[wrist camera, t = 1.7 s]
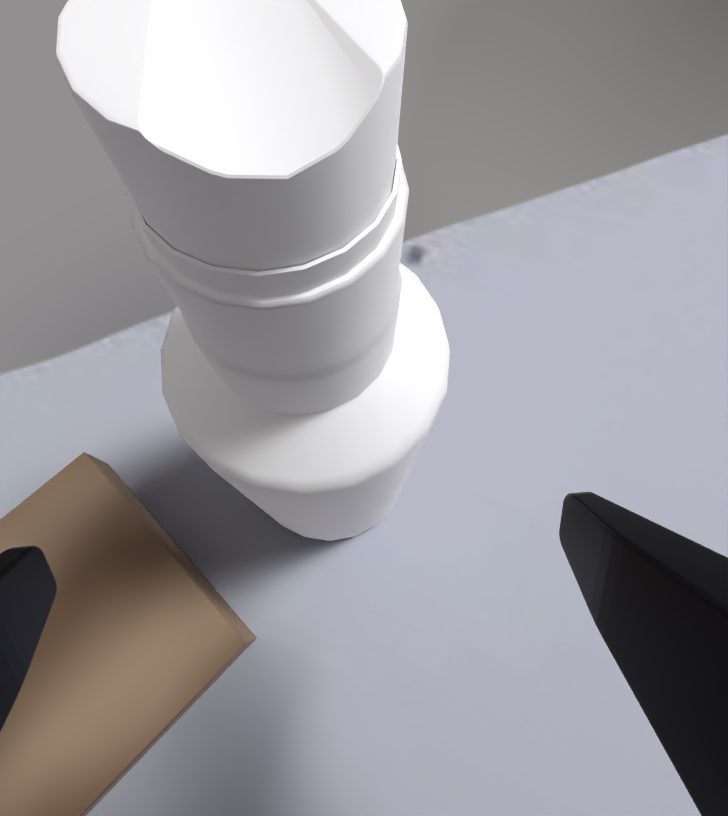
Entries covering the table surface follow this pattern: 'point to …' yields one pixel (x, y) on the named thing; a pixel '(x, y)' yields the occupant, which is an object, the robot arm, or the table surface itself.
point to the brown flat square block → (105, 643)
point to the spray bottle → (273, 238)
